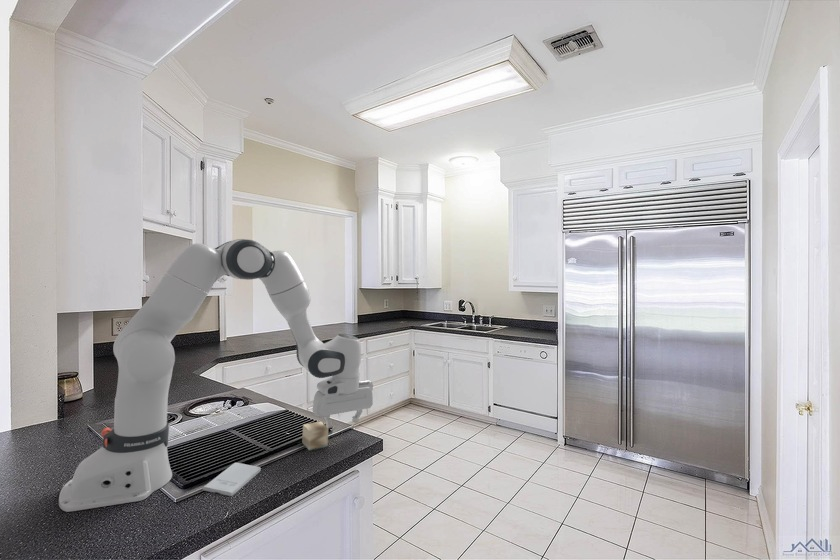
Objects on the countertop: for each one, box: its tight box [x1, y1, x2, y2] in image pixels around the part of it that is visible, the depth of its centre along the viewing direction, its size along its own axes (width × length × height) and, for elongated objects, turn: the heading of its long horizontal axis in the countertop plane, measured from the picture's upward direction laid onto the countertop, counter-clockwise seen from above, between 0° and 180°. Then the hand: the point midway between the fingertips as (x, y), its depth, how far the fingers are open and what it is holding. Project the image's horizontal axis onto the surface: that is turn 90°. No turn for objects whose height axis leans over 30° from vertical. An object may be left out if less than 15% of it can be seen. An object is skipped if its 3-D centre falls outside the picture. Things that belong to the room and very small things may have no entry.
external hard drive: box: [202, 462, 262, 497], centre depth 108 cm, size 2×8×12 cm
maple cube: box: [301, 421, 330, 451], centre depth 131 cm, size 6×6×6 cm
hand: (342, 424), depth 136 cm, fingers open, 8 cm apart
